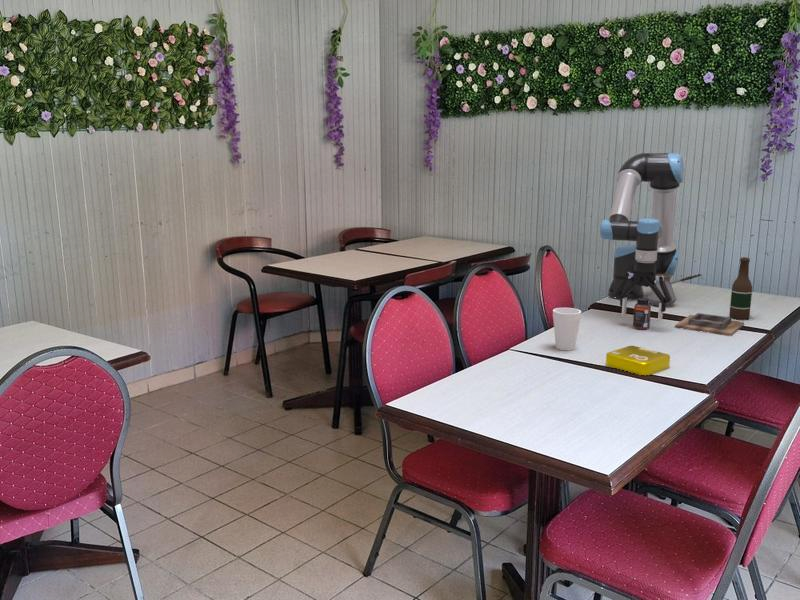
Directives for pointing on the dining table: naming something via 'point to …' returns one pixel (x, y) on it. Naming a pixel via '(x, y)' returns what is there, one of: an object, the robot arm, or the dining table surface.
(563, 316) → the foam cup
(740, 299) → the beer bottle
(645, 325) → the supplement bottle
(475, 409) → the dining table surface
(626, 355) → the element tile
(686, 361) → the dining table surface
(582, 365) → the dining table surface
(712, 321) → the holder board
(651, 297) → the coffee pot
